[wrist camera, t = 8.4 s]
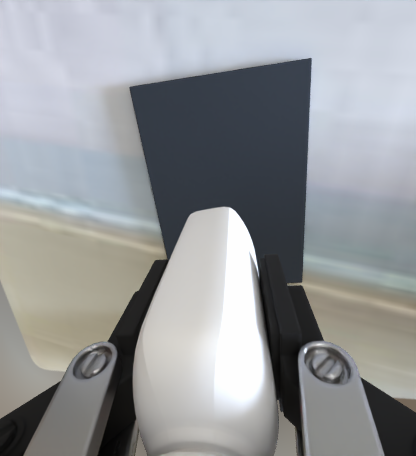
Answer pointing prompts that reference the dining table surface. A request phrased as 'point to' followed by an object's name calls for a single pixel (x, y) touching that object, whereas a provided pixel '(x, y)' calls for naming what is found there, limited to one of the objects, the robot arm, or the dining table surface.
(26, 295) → the dining table surface
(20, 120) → the dining table surface
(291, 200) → the mat
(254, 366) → the eye dropper bottle
